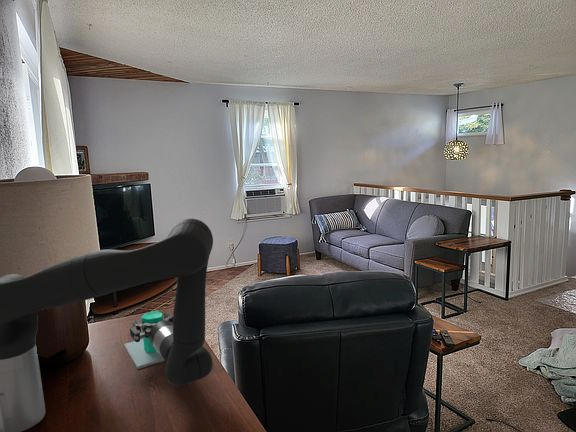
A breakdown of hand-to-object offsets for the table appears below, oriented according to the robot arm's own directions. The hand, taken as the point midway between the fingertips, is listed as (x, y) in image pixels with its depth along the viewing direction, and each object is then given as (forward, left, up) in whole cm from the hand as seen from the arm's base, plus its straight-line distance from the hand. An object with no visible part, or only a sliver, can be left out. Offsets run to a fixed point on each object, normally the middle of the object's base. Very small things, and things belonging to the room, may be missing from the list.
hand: (150, 319), depth 116 cm
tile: (-1, -2, -9) cm, 9 cm away
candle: (-1, -2, -9) cm, 9 cm away
